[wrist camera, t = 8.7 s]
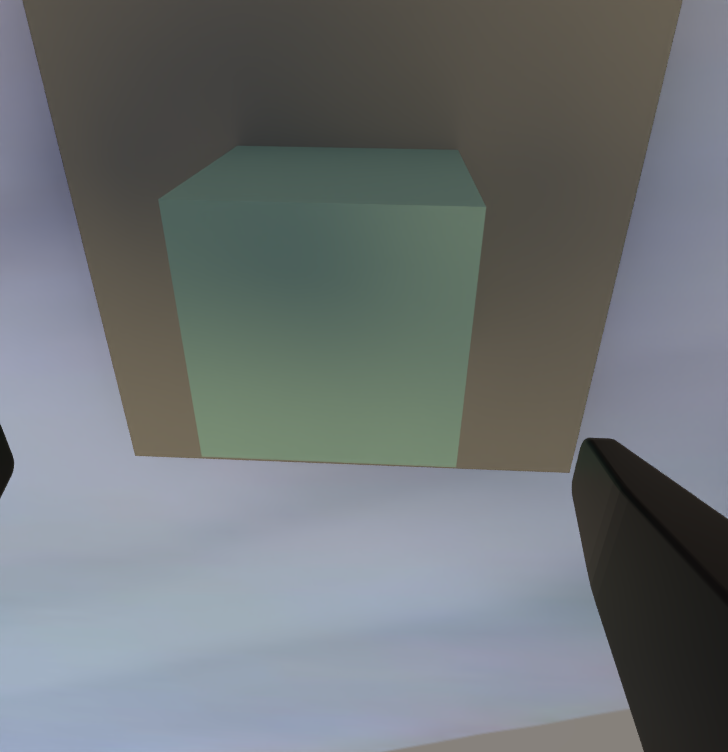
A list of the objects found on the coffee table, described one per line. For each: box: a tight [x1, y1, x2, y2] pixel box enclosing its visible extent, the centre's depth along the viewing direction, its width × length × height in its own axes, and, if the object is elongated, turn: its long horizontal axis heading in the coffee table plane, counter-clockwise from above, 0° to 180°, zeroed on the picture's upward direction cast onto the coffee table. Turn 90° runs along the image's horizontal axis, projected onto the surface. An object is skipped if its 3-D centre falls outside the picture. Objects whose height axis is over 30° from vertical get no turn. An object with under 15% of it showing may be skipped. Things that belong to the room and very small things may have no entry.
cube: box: [158, 146, 486, 467], centre depth 15 cm, size 6×6×6 cm
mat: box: [23, 0, 682, 473], centre depth 18 cm, size 16×16×1 cm
